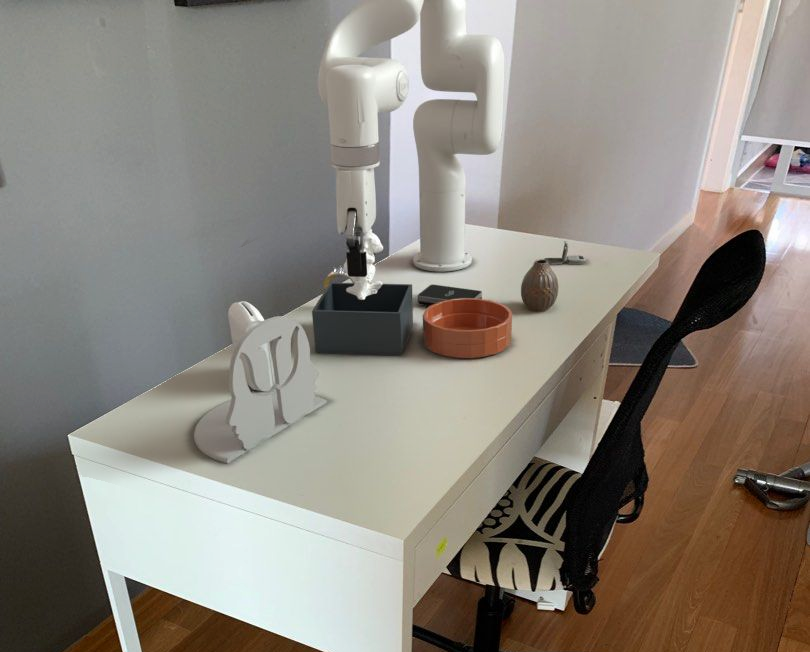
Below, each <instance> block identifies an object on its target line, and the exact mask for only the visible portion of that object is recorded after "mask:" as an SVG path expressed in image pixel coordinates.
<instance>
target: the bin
mask: <svg viewBox="0 0 810 652" xmlns="http://www.w3.org/2000/svg"><path fill="white" fill-rule="evenodd" d="M373 283H374V282H370V283H369V284H373ZM354 284H355V283H352V282H329V285H328V286H327V288H326V290H325V291H324V290H323V293H322V294H321V296H320V297H319V299H318V301H317V302H316V303H315V304H314V305H315V306H314V307H313V309H312V310H311V317H312V328H313V337H314V348H315V349H314V350H315V353H316V354H334V355H335V354H336V355H363V356H364V355H367V356H368V355H369V356H395V357H402V356H403V353H404V351H405V348H406V346H407V343H408V339H409V337H410V334H411V333H412V328H413V326H414V306H413V305H414V301H413V284H411V283H382V286H381V287H380V288H379V289H378V291H377V293H376V294H372V295H368V296H366V297H365V299H364V300H359V299H358V297H357V296H356V295H353V294H351V293H348V292H347V291H346V289H347V288H349V287H353V286H354Z"/></svg>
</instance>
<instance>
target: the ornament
mask: <svg viewBox="0 0 810 652" xmlns="http://www.w3.org/2000/svg"><path fill="white" fill-rule="evenodd" d="M292 337H293V349H294V350H293V351H294V352H293V364H292V353H291V352H292V350H291V348H292V347H291V344H292ZM267 342H269V343H270V342H272V343H271V360H272V367H273V375H274V384H275V385H278V386H277V387H276V388H275V391H271V390H272V387H271V383H270V374H269V365H268V358H267V354H266V352H265V350H264V349H262V348H259V346H261V345H263V344H265V343H267ZM240 353H242V354H243V355H244V356H245V358H246V360H247V363H248V367H249V372H250V378H251V381H252V383H253V385H254V387H255V388H257V389H259V390H261V391H262V392H258V393H252V392H251V389H250V388H249V385H248V384H247V382H246V378H245V373H244V367H243V363H242V361H241V359H240V358H239V356H240ZM310 357H311V348H310V343H309V340H308V336H307V334H306V331H305V329H304V327H303V326H302V324H300V323H299V322H298V321H297V320H296V319H294V318H291V317H287V316H280V315H277V316H272V317H270V318H265V319H264V321H261V322H260V323H258V324H257V325H255V326H253V327H252V328H250V329H249V330H248V331H247V332H246V333H245V334H244V335H243V337H242V338H241V339H240V340H239V342H238V344H237V346H236V348H235V350H233V353H232V356H231V359H230V363H229V370H228V390H229V393H230V395H231V399H230V400H228V401H226V402H224V403H221V404H219V405H217V406H215V407H213V408H212V409H211V410H209V411H208V412H206V414H204V415H203V416H202V417H201V418H200V419H199V420H198V422H197V424H196V426H195V428H194V432H193V440H194V443H195V446H196V447H197V448H198V449H199V451H200V452H201V453H203V454H204V455H206V456H207V457H209V458H211V459H213V460H215V461H218V462H221V463H224V464H229V463H231V462H232V461H234V460H235V459H237V458H239V457H240V456H242V455H244V454H245V453H247V452H249V451H250V450H252V449H254V448H255V447H257V446H259V445H260V444H262V443H263V442H265V441H266V440H269V439H270V438H272V437H273V436H275V435H277V434H278V433H279V432H282V431H283V430H284V429H286V428H288V427H289V426H291V425H293V424H294V423H296V422H298V421H299V420H301V419H303V418H304V417H306V416H308V415H309V414H311V413H312V412H314V411H315V410H317V409H319V408H321V407H322V406H324V405H326V404H327V403H328V400H327V399H325V398H322V397H319V396H316V390H317V384H316V381H317V380H318V378H319V377H320V373H319V371H318V370H317V368H315V366H314V365H313V362H312V361H311V358H310ZM291 367H292V368H291Z"/></svg>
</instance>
